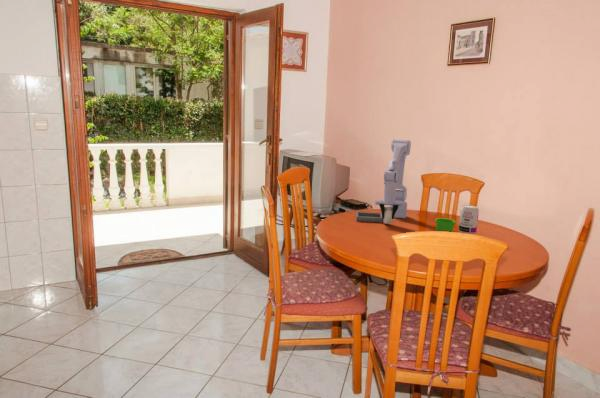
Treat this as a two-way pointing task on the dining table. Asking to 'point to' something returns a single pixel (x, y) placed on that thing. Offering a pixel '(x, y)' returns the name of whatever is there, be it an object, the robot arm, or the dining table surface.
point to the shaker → (388, 215)
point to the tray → (369, 217)
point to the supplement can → (468, 219)
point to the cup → (444, 224)
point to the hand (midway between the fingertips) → (387, 218)
